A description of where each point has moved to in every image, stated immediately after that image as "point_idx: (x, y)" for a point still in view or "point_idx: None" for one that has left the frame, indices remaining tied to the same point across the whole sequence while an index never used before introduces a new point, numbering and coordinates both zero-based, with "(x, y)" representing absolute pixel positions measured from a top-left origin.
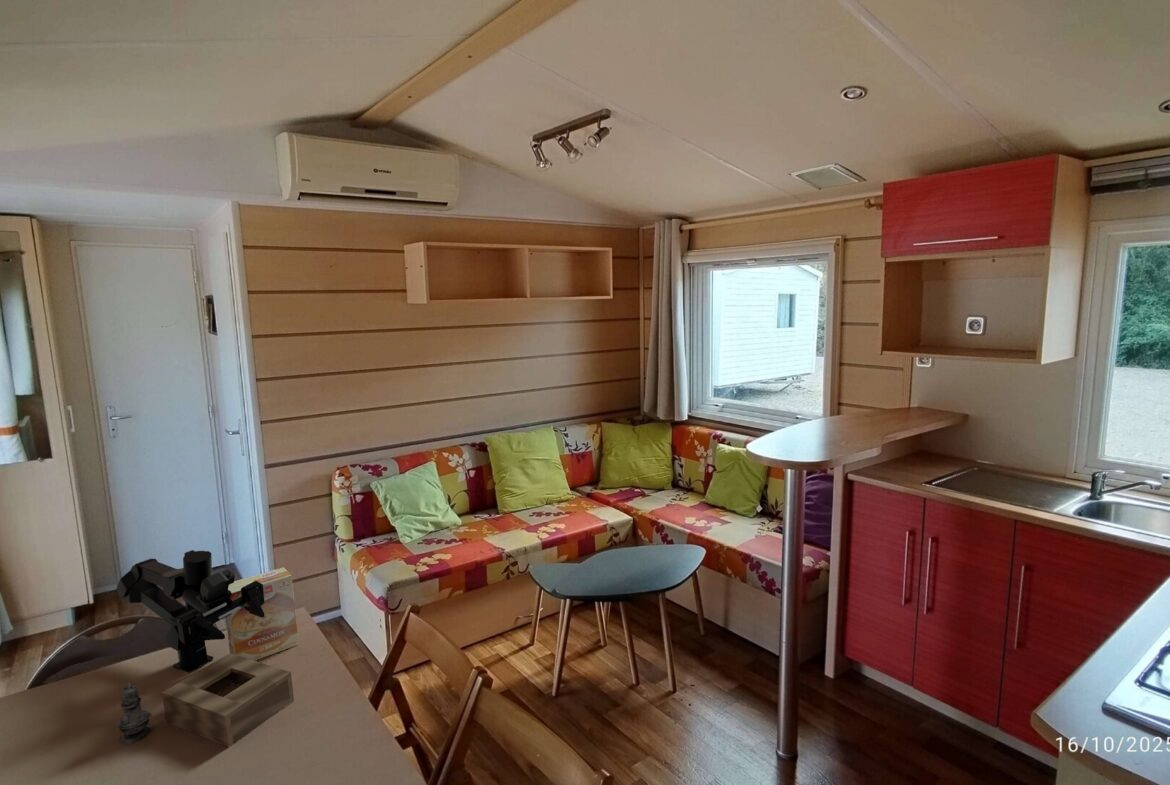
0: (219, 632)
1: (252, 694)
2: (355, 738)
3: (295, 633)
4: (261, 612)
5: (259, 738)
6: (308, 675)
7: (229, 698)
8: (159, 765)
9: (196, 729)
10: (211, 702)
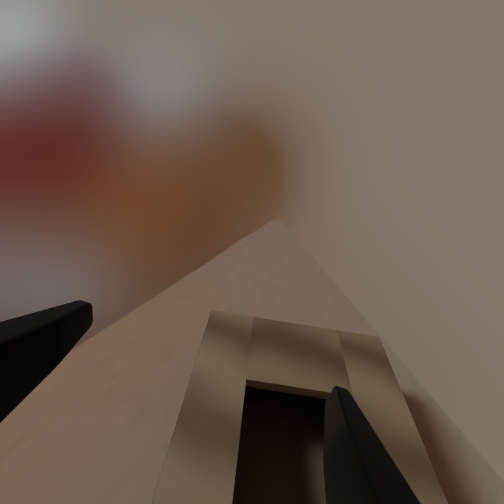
0: (359, 419)
1: (306, 333)
2: (258, 252)
3: None
4: (79, 306)
5: None
6: (110, 385)
7: (344, 374)
8: (484, 493)
9: None
10: (385, 410)
